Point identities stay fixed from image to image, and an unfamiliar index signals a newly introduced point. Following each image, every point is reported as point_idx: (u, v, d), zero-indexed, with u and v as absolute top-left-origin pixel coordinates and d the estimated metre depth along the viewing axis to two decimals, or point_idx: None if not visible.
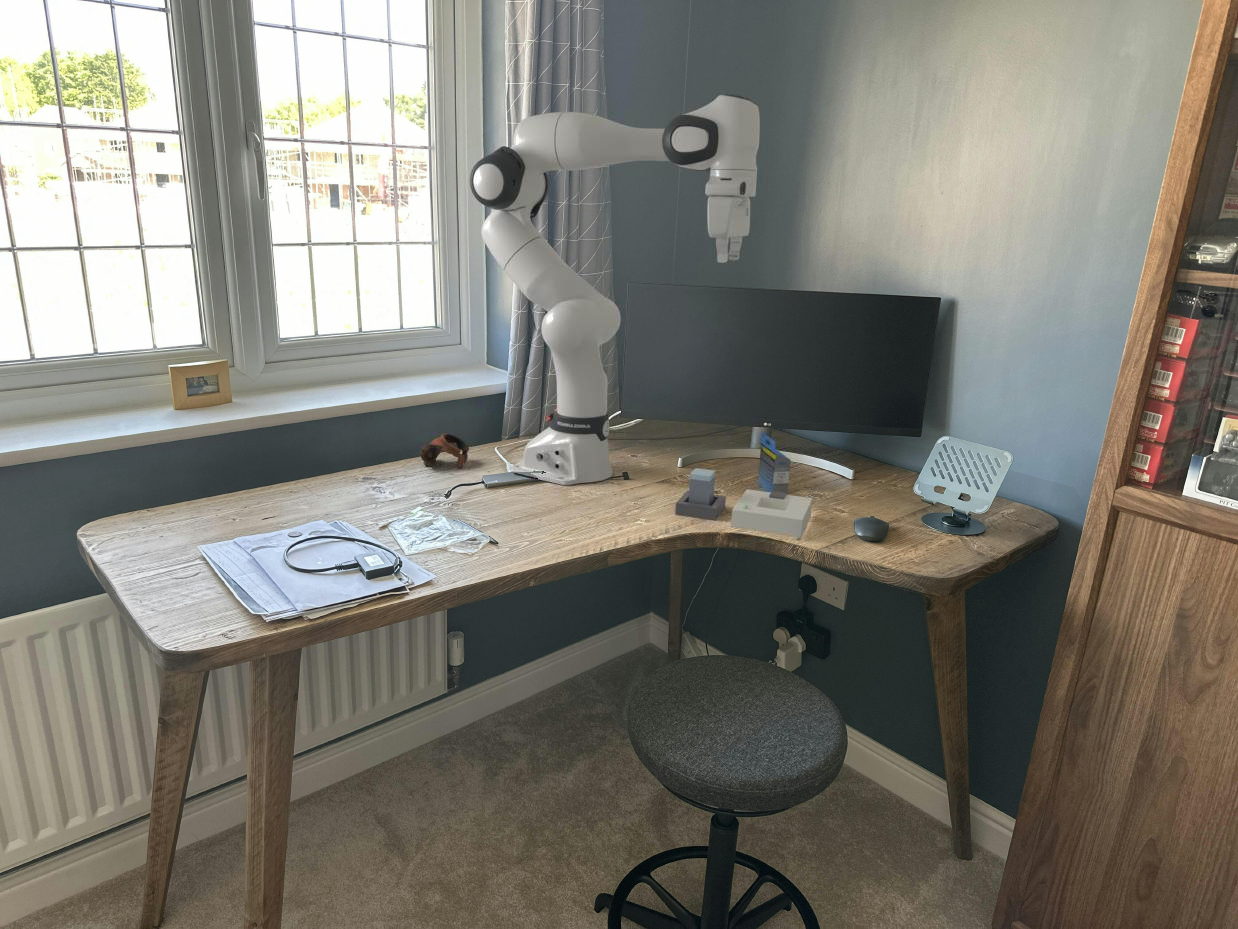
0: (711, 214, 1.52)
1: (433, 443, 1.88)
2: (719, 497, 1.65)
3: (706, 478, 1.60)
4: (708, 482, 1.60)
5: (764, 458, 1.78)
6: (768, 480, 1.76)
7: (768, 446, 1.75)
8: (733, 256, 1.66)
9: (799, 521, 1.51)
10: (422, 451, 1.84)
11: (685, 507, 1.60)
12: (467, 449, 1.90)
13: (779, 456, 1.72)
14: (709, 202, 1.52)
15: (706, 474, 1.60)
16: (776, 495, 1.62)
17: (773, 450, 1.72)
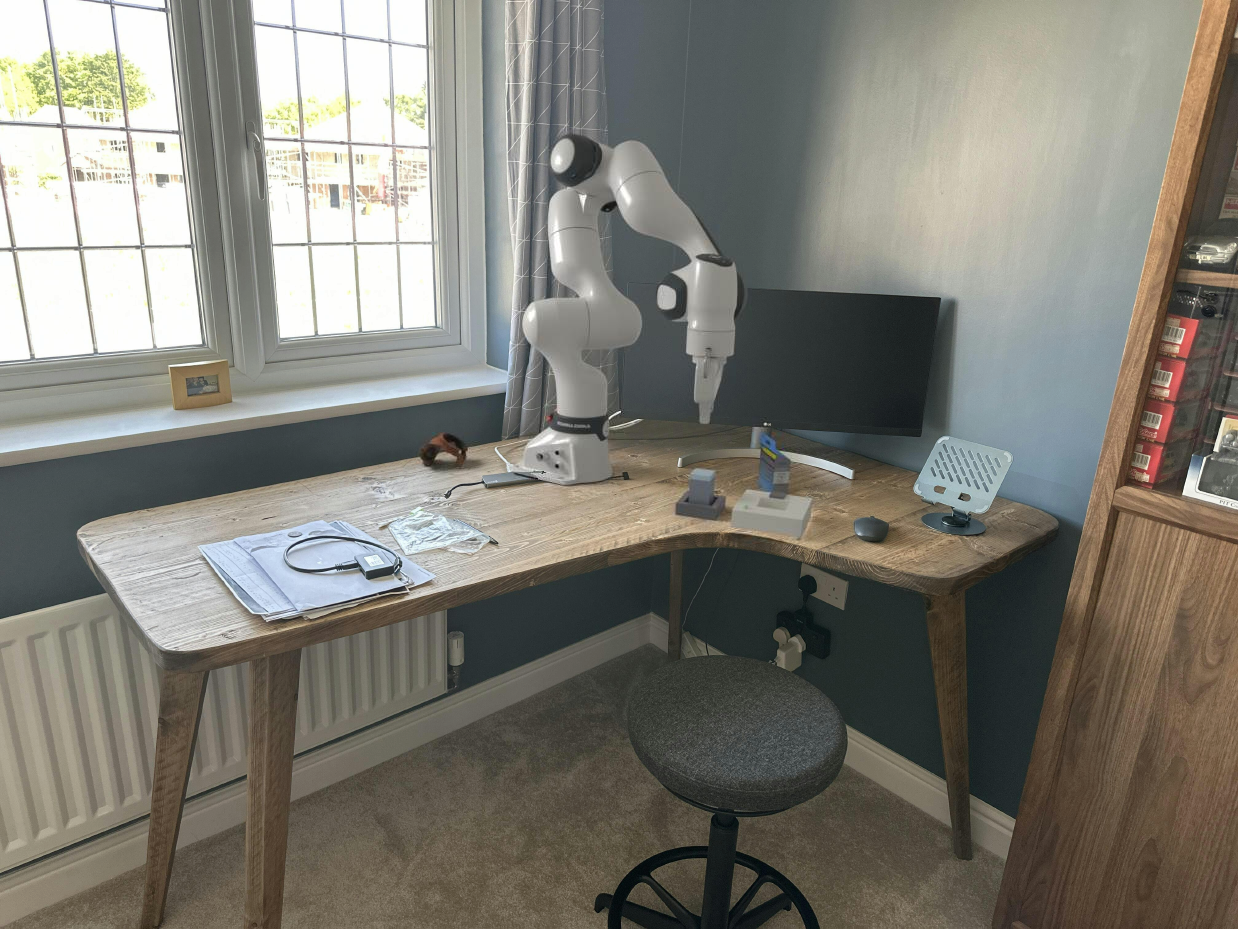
0: None
1: (432, 442, 1.88)
2: (719, 497, 1.65)
3: (706, 478, 1.60)
4: (708, 482, 1.60)
5: (764, 458, 1.78)
6: (768, 480, 1.76)
7: (768, 446, 1.75)
8: None
9: (799, 521, 1.51)
10: (421, 450, 1.85)
11: (685, 507, 1.60)
12: (466, 448, 1.90)
13: (779, 456, 1.72)
14: None
15: (706, 474, 1.60)
16: (776, 495, 1.62)
17: (773, 450, 1.72)
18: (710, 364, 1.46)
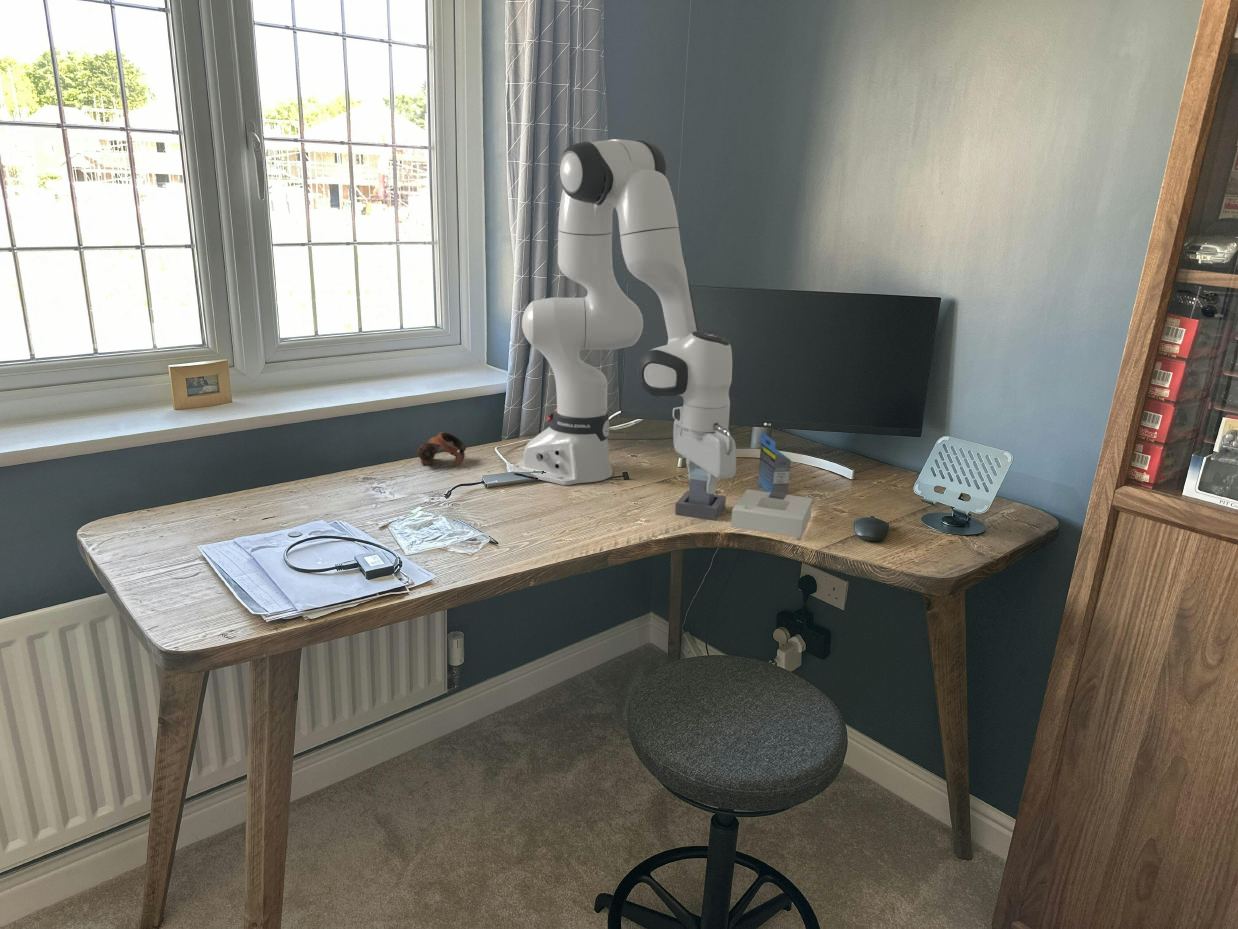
0: None
1: (430, 442, 1.88)
2: (719, 497, 1.65)
3: (706, 478, 1.60)
4: None
5: (764, 458, 1.78)
6: (768, 480, 1.76)
7: (768, 446, 1.75)
8: None
9: (799, 521, 1.51)
10: (420, 450, 1.85)
11: (685, 507, 1.60)
12: (464, 448, 1.91)
13: (779, 456, 1.72)
14: None
15: (706, 474, 1.60)
16: (776, 495, 1.62)
17: (773, 450, 1.72)
18: None
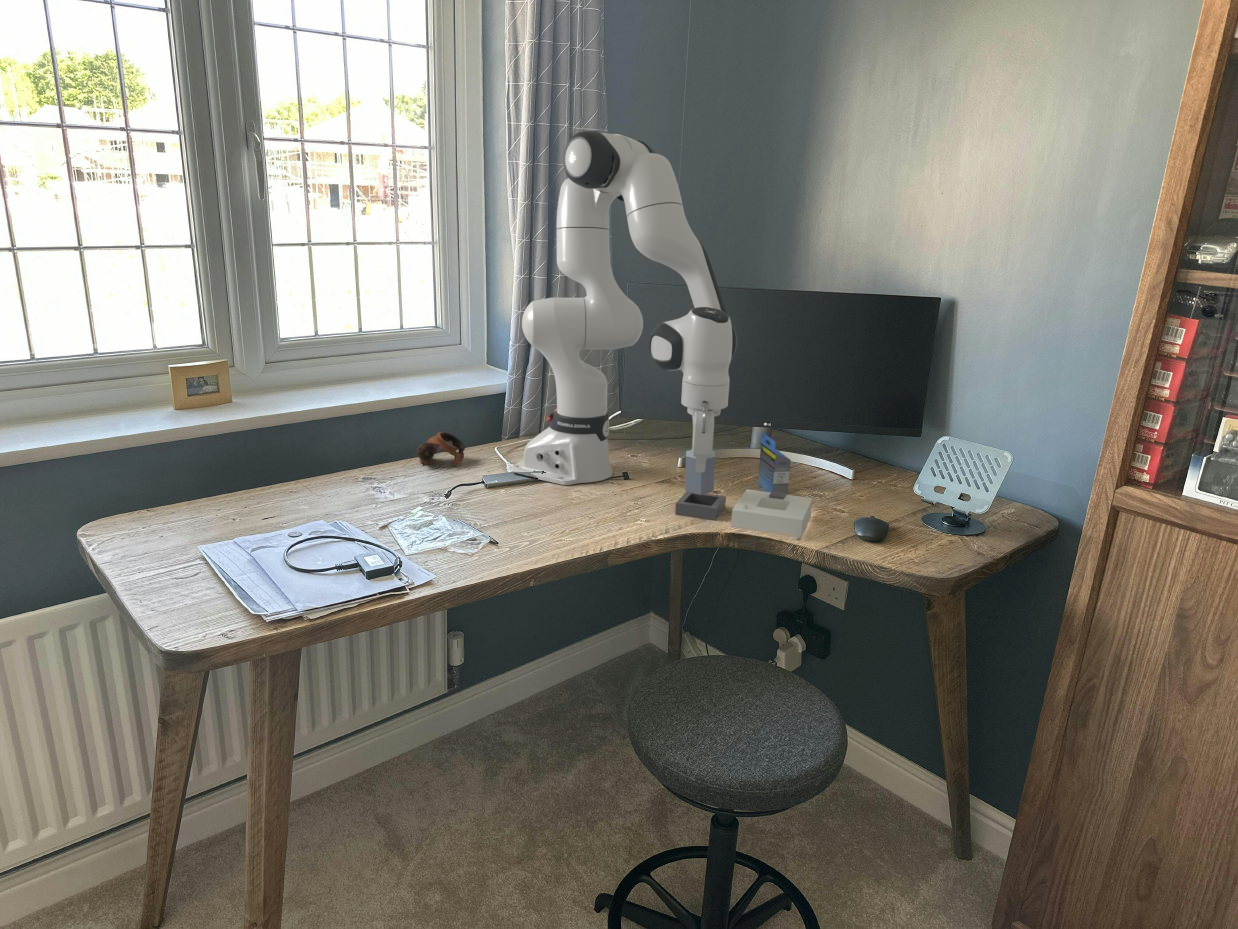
0: None
1: (430, 441, 1.89)
2: (719, 497, 1.65)
3: None
4: None
5: (764, 458, 1.78)
6: (768, 480, 1.76)
7: (768, 446, 1.75)
8: None
9: (799, 521, 1.51)
10: (419, 449, 1.85)
11: (685, 507, 1.60)
12: (463, 447, 1.91)
13: (779, 456, 1.72)
14: None
15: None
16: (776, 495, 1.62)
17: (773, 450, 1.72)
18: (708, 420, 1.49)
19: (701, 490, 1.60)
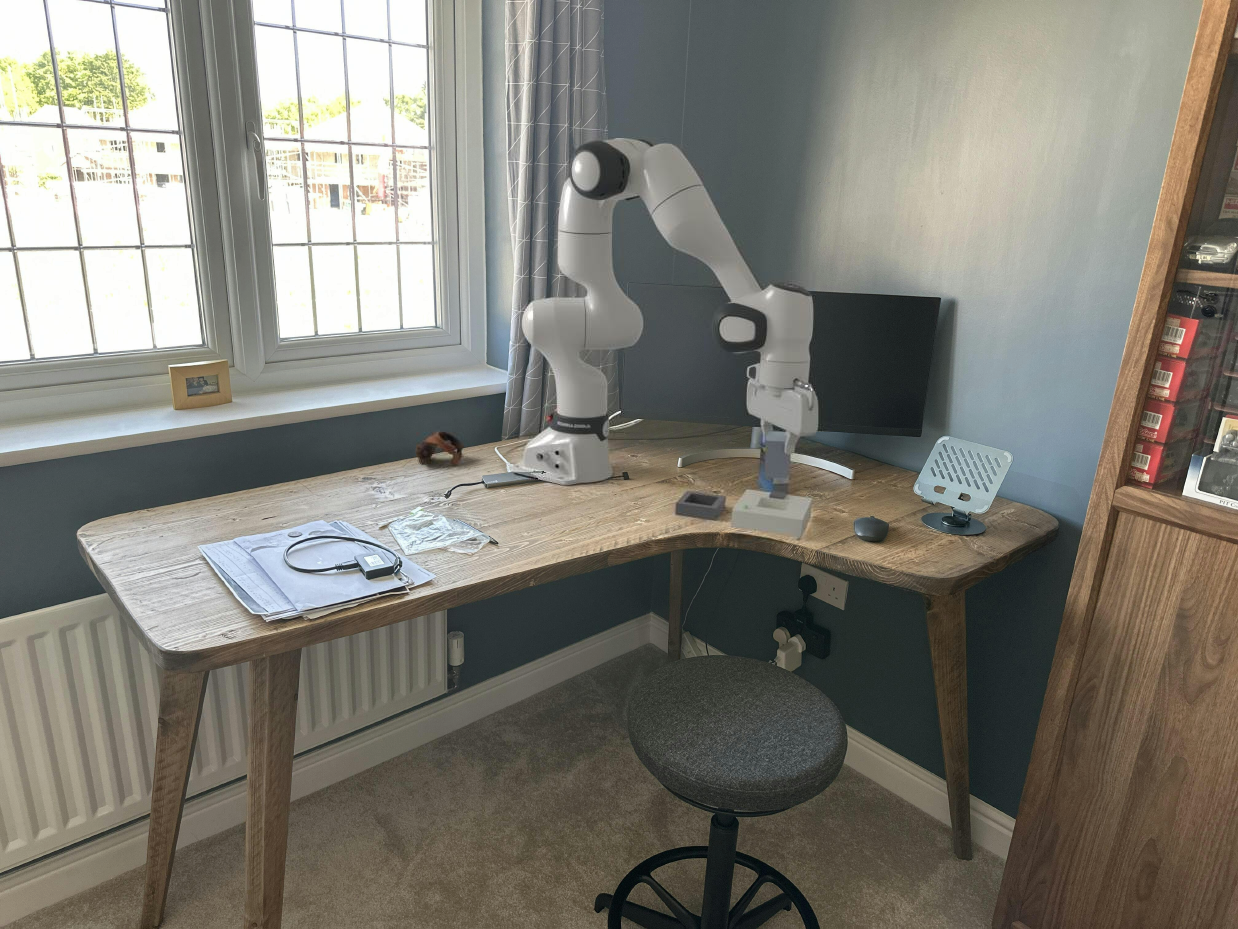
0: None
1: (428, 441, 1.89)
2: (719, 497, 1.65)
3: (783, 438, 1.52)
4: None
5: (764, 458, 1.78)
6: (768, 480, 1.76)
7: None
8: None
9: (799, 521, 1.51)
10: (417, 449, 1.86)
11: (685, 507, 1.60)
12: (462, 446, 1.92)
13: None
14: None
15: (783, 435, 1.53)
16: (776, 495, 1.62)
17: None
18: None
19: (786, 473, 1.54)
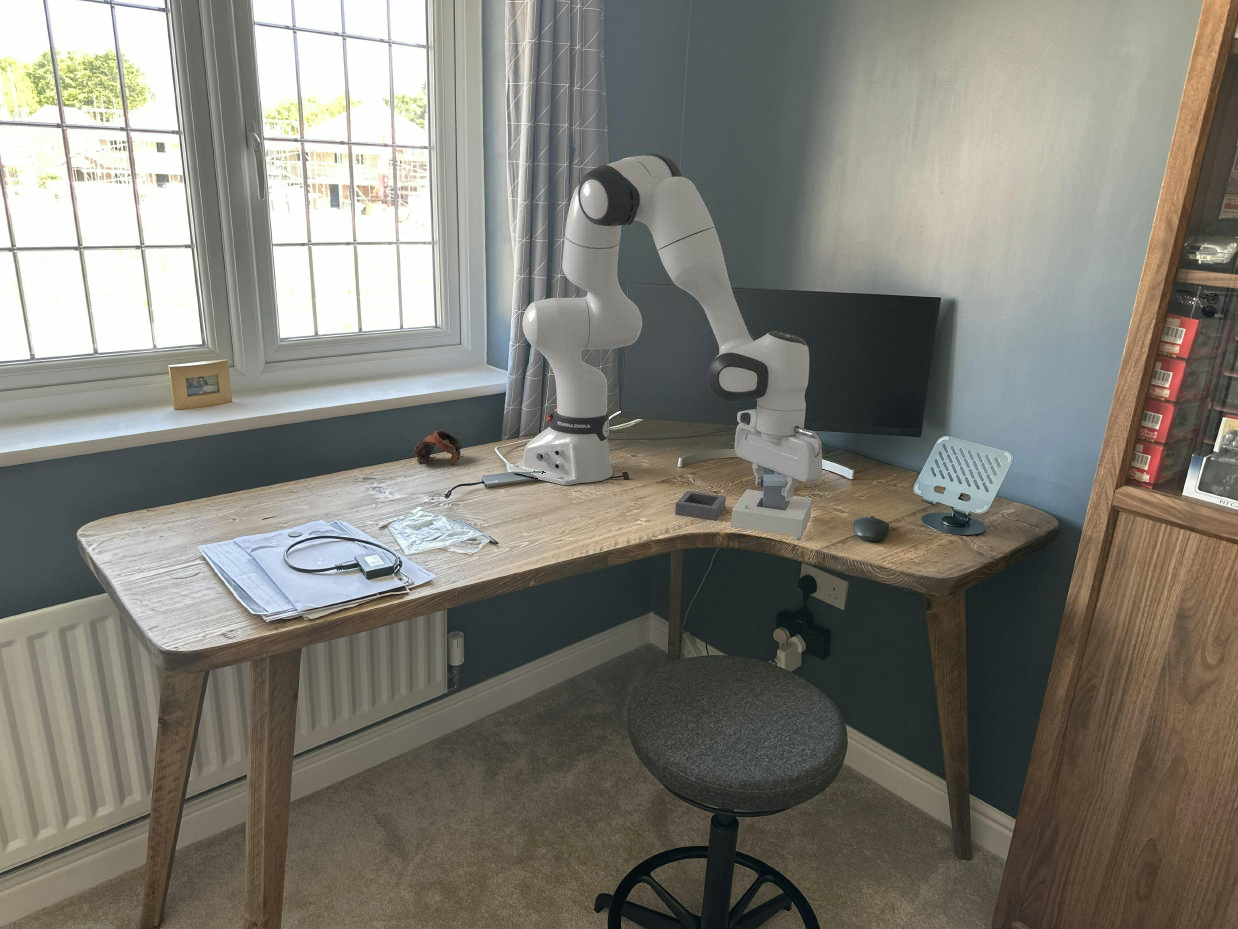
0: None
1: (426, 440, 1.90)
2: (719, 497, 1.65)
3: (781, 483, 1.55)
4: None
5: None
6: None
7: None
8: None
9: (799, 521, 1.51)
10: (416, 448, 1.86)
11: (685, 507, 1.60)
12: (460, 446, 1.92)
13: None
14: None
15: (780, 479, 1.56)
16: None
17: None
18: None
19: None
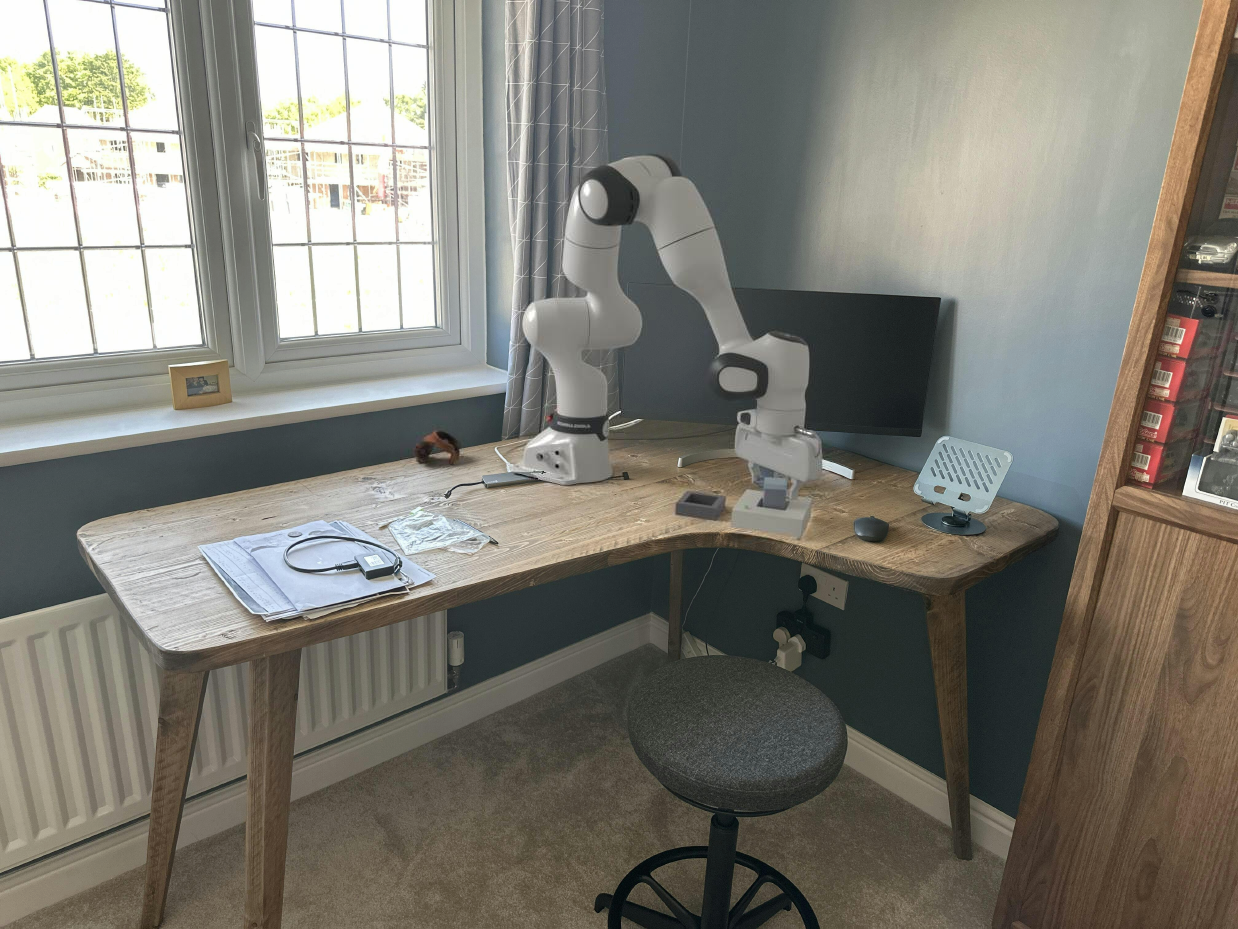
0: None
1: (426, 440, 1.90)
2: (719, 497, 1.65)
3: (783, 487, 1.56)
4: (785, 491, 1.56)
5: None
6: None
7: None
8: None
9: (799, 521, 1.51)
10: (415, 448, 1.87)
11: (685, 507, 1.60)
12: (459, 445, 1.93)
13: None
14: None
15: (781, 483, 1.56)
16: None
17: None
18: None
19: None
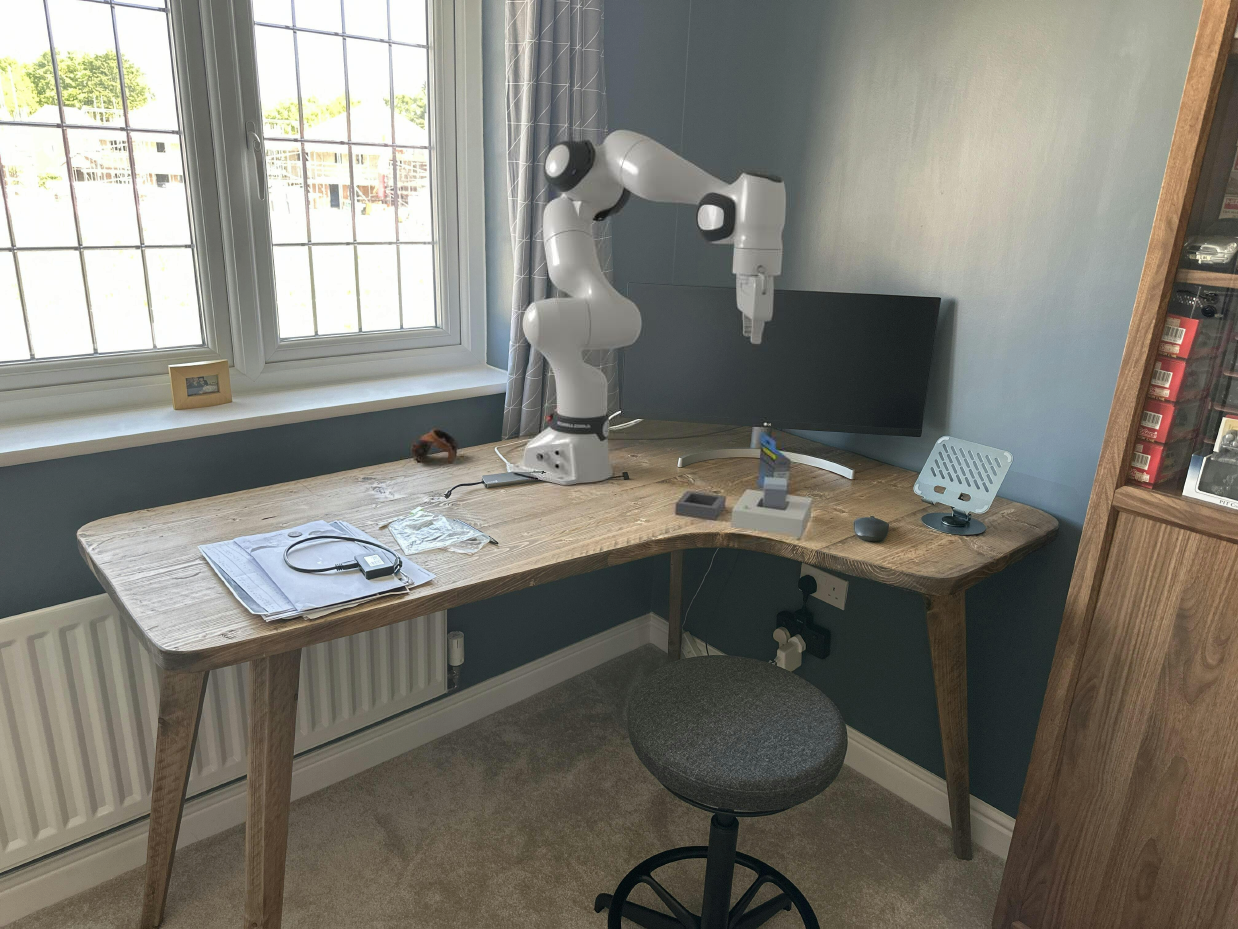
0: None
1: (423, 439, 1.91)
2: (719, 497, 1.65)
3: (783, 487, 1.56)
4: (785, 491, 1.56)
5: (764, 458, 1.78)
6: None
7: (768, 446, 1.75)
8: None
9: (799, 521, 1.51)
10: (413, 446, 1.87)
11: (685, 507, 1.60)
12: (457, 444, 1.93)
13: (779, 456, 1.72)
14: None
15: (781, 483, 1.56)
16: None
17: (773, 450, 1.72)
18: (768, 281, 1.45)
19: None
